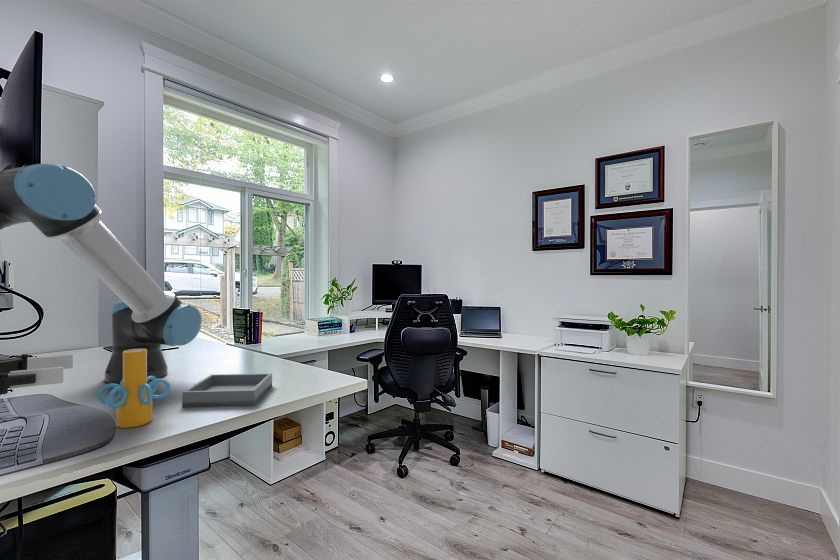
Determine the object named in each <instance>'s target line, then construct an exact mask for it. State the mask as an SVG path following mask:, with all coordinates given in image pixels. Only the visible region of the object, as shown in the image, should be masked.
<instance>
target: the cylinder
mask: <svg viewBox="0 0 840 560" xmlns="http://www.w3.org/2000/svg"><path fill="white" fill-rule="evenodd" d="M150 380H151V381H150ZM149 381H150V382H149ZM159 383H160V384H163V385H164V386H165V389H164V390H165V391H164V392H163V393H161V394H159V395H157V394H155V393H156V392H157V389H158V386H159ZM109 388H112V390H111V391H110V392H109V394H108V395H107V399H105V398H104V396H103V393H104V391H106V390H107V389H109ZM170 391H171V384H170V383H169V381H167V380H166V379H163V378H156V377H154V376H149V377H147V349H131V350H125V351H123V379H122V380H121V382H120V383H106V384H105V385H102V387H100V388H99V390H98V391H97V394H96V395H97V396H96V397H97V401H99V403H101V404H103V405H108V407H109V408H111V409H113V410H116V426H117V427H118V428H120V429H121V428H122V429H128V428H129V429H130V428H137V427H141V426H143V425H147V424H149V423H150V422H152V420H153V409H154V407H153V406H154V405H153V403H154V402H153V400H160V399H163V398H165V397H166V396H167V395H169V392H170ZM117 392H118V396H117V397H116V398H114V395H116V393H117ZM113 398H114V399H113Z"/></svg>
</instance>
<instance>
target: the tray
mask: <svg viewBox="0 0 840 560" xmlns="http://www.w3.org/2000/svg"><path fill="white" fill-rule="evenodd" d="M272 387H273V373H238V374H237V373H236V374H235V373H234V374H233V373H230V374H229V373H227V374H226V373H225V374H224V373H223V374H210V375H209V376H207V377H204V378H203V379H202V380H199V381H198V382H197V383H195V384H193V385H192V386H190V387H189V388H187V389H185V390H183V391H182V392H181V394H182V395H181V397H182V399H181V402H182V403H181V408H202V407H203V408H205V407H207V408H208V407H209V408H210V407H241V406H243V407H244V406H255V405H256V404H257V403H258V402H259V401H260V400H261V399H262V397H264V396H265V394H267V393H268V392H269V390H270V389H272Z"/></svg>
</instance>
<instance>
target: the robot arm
mask: <svg viewBox="0 0 840 560" xmlns="http://www.w3.org/2000/svg"><path fill="white" fill-rule="evenodd" d="M96 196H97V194H96V191H95V189H94V187H93V185H92V183H91V182H90V181H89V180H88V179H87V178H86V177H85V176H84V175H83V174H81V173H80V172H79V171H77V170H75V169H73V168H70V167H68V166H66V165H60V164H54V163H35V164H31V165H25V166H20V167H13V168H6V169H2V170H0V231H1V230H2V229H5V228H7V227H11V226H14V225H19V224H23V223H29V222H30V223H31V224H33V225H34V227H35V228H37V229H38V231H40V233H42V234H43V235H44V236H45V237H46V238H48V239H53V240H54V239H55V240H60V241H61V242H62V243H63V244H64V245H65V246H66V247H68V249H69V250H70V251H72V252H73V254H75V255H76V257H78V258H79V260H80V261H82V262H83V264H85V265H86V266H87V267H88V269H90V270H91V272H93V273H94V274H95V275H96V276H97V277H98V279H100V280H101V281H102V282H103V283H104V284H105V285H106V286H107V287H108V288H109V289H110V290H111V291H112V292H113V293H114V294H115V295H116V296H117V297H118V298H120V299H119V301H116V302H114V303H113V305H112V312H111V317H112V318H111V321H112V322H111V324H112V325H111V327H112V328H111V329H112V331H111V332H112V333H111V334H112V337H111V338H112V340H111V341H112V345H111V346H112V351H111V355H110V357H109V361H108V364H107V367H106V368H105V371H104V382H105V383H107V384H110V383H114V384H120V382H121V380H122V379H123V351H125V350H131V349H147V377H149V376H154V377H156V378H157V379H161V378H162V377H165V376H166V375H168V365H167V361H166V359H165V357H164V354H163V352H162V348H161V347H162V346H161V345H163V346H170V347H175V346H177V347H178V346H185V345H188V344H190V343H191V342H192V341H194V339H195V338H196V337H197V336H198V334H199V333H200V331H201V327H202V321H203V320H202V318H203V317H202V314H201V312H200V309H198V308H197V307H196V306H194V305H192V304H190V303H183V302H182V301H181V300H180V298H179V297H178V296H177V295H176V293H174V292H173V291H170V290H164V289H162V287H161V286H160V285H159V284H158V283H157V282H156V280H154V278H153V277H152V276H151V275H150V274H149V273H148V271H146V270H145V269H144V267H143V266H142V265H141V264H140V263H139V262H138V261H137V260H136V258H134V256H133V254H131V252H129V250H128V249H127V248H126V247H125V246H124V245H123V243H121V242H120V240H119V239H118V238H117V237H116V236H115V235H114V234H113V232H111V230H110V229H109V228H108V227H107V226H106V225H105V223H103V222H102V220H101V214H102V210H101V208H100V207H99V206H98V204H96V203H97V200H96ZM73 358H74V355H73V354H59V355H58V354H57V355H46V356H33V357H29V353H23V354H21V356H16V357H9V358H8V357H7V358H0V396H1V395H5V394H8V393H9V389H10V390H11V389H17V388H27V387H29V388H30V387H38V386H47V385H57V384H63V383H64V370H68V369H69V370H70V369H73V367H74V365H73V364H74V363H73V362H74V359H73Z"/></svg>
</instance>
